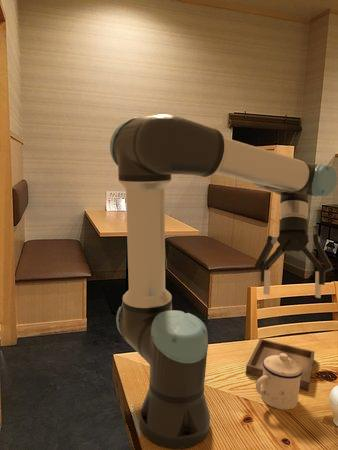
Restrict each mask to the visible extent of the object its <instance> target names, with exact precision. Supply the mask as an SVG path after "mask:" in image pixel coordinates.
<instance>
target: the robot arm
mask: <svg viewBox="0 0 338 450" xmlns="http://www.w3.org/2000/svg"><path fill="white" fill-rule="evenodd" d="M109 141H110V143H109V151H110V152H109V153H110V156H111V159H112V161H113V162H114V164H115V165H116V166H117V171H118V172H117V173H118V175H117V176H118V183H120V184H121V185H122V186H123V187H124V189H125V202H126V203H125V204H126V207H125V208H126V238H127V269H128V277H127V278H128V290H126V292H125V293H124V294H123V295H122V303H121V306H119V308H118V310H117V312H116V317H115V319H116V320H115V321H116V328H117V330H118V332H119V333H120V335H121V337H122V339H123V340H124V342H126V343H127V344H129V345H130V347H132V349H133V350H134V351H136V352H137V353H138V355H140V356H141V358H143V359H144V360H145V361H146V362H147V363H148V365H149V383H148V384H149V385H148V390H147V393H146V395H145V398H144V400H143V403H142V405H141V408H140V410H139V411H140V412H139V427H140V430H141V431H140V432H142V434H143V435H144V436H145V438H147V439H148V440H149V441H150V442H152V443H153V444H156V445H158V446H160V447H163V448H168V449H187V448H191V447H193V446H196V445H198V444H200V443H201V442H203V440H204V439H206V438H207V436H208V434H209V433H210V425H211V413H210V410H209V407H208V404H207V400H206V395H205V382H206V370H207V369H206V368H207V360H208V359H207V356H208V348H209V342H208V339H209V338H208V330H207V326H206V324H205V323H204V322H203V321H202V320H201V319H200V318H199V317H197V316H196V315H194V314H192V313H190V312H187V313H186V312H184V311H182V310H174V309H173V303H172V302H173V301H172V300H173V296H172V294H171V293H170V291H169V290H167V289H166V233H165V232H166V231H165V230H166V227H165V225H166V224H165V222H166V221H165V220H166V216H165V212H166V210H165V209H166V208H165V207H166V206H165V204H166V203H165V188H166V187H167V186H168V185H169V184H170V183H171V181H172V175H184V176H185V175H186V176H189V175H191V176H198V177H202V178H210V177H212V176H213V175H217V176H221V177H225V178H230V179H235V180H240V181H243V182H244V181H245V182H249V183H252V184H253V185H255V186H257V187H259V188H260V189H265V190H267V191H270V192H271V193H272V192H273V193H275V194H277V195H279V196H280V202H279V203H280V204H279V218H280V219H279V223H278V224H279V226H278V227H279V228H278V229H279V230H278V236H271V235H268V236H267V240H266V243H265V245H264V247H263V249H262V251H261V253H260V255H259V256H258V258H257V260H256V262H255V263H254V267H255V268H257V269H260V281H261V283H263V294H264V295H267V296H270V293H271V292H270V291H271V271H270V270H269V269H271V267H272V266H273V265H274V264H275V263H276V262H277V260H278V259H279V258H280V257H282V255H284V254H285V253H300V252H302V253H303V254H304V255H305V256H306V257H307V258H308V259H309V261H310V262H311V263H312V264H313V265H314V266H315V267H316V269H317V271H314V272H315V274H314V275H315V277H314V278H315V279H314V281H315V284H314V286H315V288H314V297H315V298H317V299H321V298H322V297H321V296H322V295H321V294H322V293H321V292H322V286H324V285H326V272H329V271H333V267H334V266H333V265H332V263H331V261H330V260H329V258H328V255H327V254H326V252H325V249H324V248H323V246H322V244H321V238H320V237H321V236H319V235H318V234H317V233H314V234H313V235H310V236H309V234H308V233H309V232H308V231H309V229H308V227H309V222H308V217H309V196H312V197H321V198H322V197H324V198H325V197H328V196H330V195H332V194H333V192H335V190H336V188H337V185H338V184H337V183H338V173H337V170H336V168H334V166H332V165H329V164H323V163H317V164H316V163H311V162H307V161H304V160H301V159H297V158H294V157H292V156H287V155H285V154H281V153H277V152H275V151H270V150H269V149H268V150H267V149H265V148H261V147H258V146H254V145H251V144H248V143H244V142H241V141H238V140H234V139H232V138H227V137H225V135H224V134H223V133H222V132H221V130H219V129H216V128H213V127H210V126H207V125H204V124H202V123H199V122H196V121H193V120H190V119H187V118H184V117H180V116H178V115H177V116H176V115H172V114H165V113H164V114H156V115H150V116H149V115H148V116H140V117H139V116H138V117H133V118H130V119H128V120H126V121H124V122H123V123H120V124H119V125H118V126H117V128H115V130H114V132H113V133H112V136H111V138H110V140H109ZM277 242H278V244H279V245H278V246H277V247H276V249H275V251H273V253H272V254H271V252H272V250H273V249H274V245H276V244H277ZM309 242H310V243H311V244H312V245H314V247H315V249H316V251H317V252H318V255H319V257H320V258H321V261H322V262H323V264H324V265H322V264H321V263H320V262H319V260H318V259H317V258H316V257H315V256H314V254H313V253H312V252H311V251H310V250H309V249H308V247H307V244H308V243H309ZM270 254H271V255H270Z"/></svg>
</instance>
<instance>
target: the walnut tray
mask: <svg viewBox="0 0 338 450" xmlns="http://www.w3.org/2000/svg"><path fill="white" fill-rule="evenodd" d="M315 352H316V351H313V350H310V349H305V348H302V347H297V346H293V345H289V344H284V343H281V342H277V341H273V340H267V339H264V338H260V339H259V340H258V342H257V344H256V346H255V348H254V350H253V352H252V354H251V356H250V358H249V359H248V362H247V364H246V366H245V367H246V368H245V375H248V376H252V377H255V378H258V379H259V378H260V377H261V376H263V369H264V367H263V362H264V360H265V359H266V358H267V357H269V356H273V355H280V354H281V353H285V354H287V355H288V357H289V358H291V359H294V360H295V361H297V362H298V363H299V364H300V365H301V367H302V374H301V379H300V387H299V390H301V391H305V392H309V389H310V382H311V378H312V371H313V365H314V360H315Z"/></svg>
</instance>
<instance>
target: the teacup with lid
mask: <svg viewBox="0 0 338 450" xmlns="http://www.w3.org/2000/svg"><path fill="white" fill-rule="evenodd" d="M263 367H264V369H263V376H261V377H260V378H258V379H257V381H256V383H255V391H256V392H257V393H258V395H260V397H261V399H262V400H263V401H264V403H266V404H267V405H268V406H270V407H272V408H275V409H278V410H283V411H284V410H287V411H289V410H291V409H294V408H296V407H297V405H298V403H299V394H300V389H299V387H300V379H301V374H302V367H301V365H300V364H299V363H298V362H297V361H295V360H294V359H291V358H289V357H288V355H287V354H285V353H281V354H280V355H273V356H269V357H267V358H266V359H265V360H264V362H263Z"/></svg>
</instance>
